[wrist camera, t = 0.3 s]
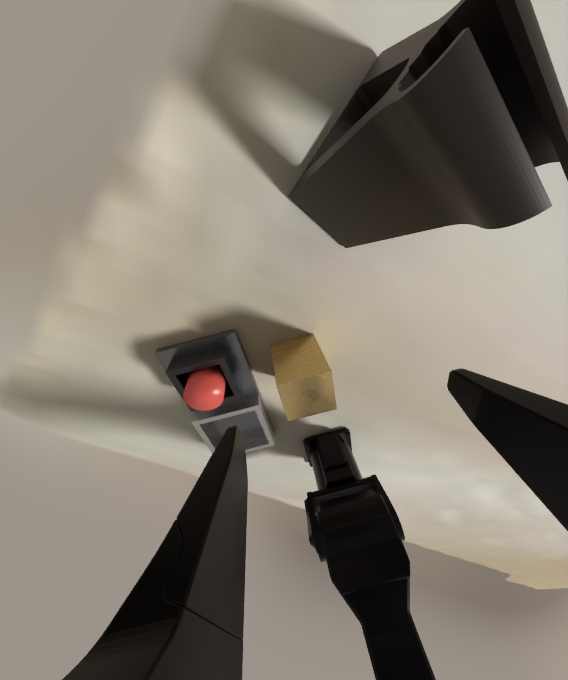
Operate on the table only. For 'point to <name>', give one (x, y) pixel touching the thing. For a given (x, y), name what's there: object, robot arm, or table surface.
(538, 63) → the phone stand
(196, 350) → the ball holder tray
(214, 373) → the red rounded part
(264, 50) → the table surface
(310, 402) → the billet
